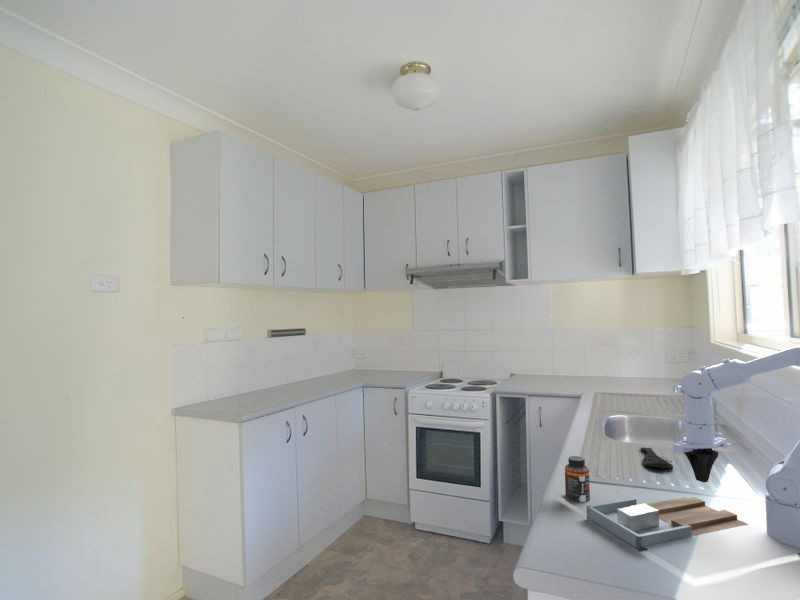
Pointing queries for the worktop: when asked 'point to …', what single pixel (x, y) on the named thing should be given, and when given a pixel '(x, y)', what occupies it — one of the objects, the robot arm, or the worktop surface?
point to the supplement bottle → (577, 480)
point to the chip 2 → (649, 515)
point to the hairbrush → (654, 459)
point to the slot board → (695, 515)
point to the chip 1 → (631, 518)
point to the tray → (627, 535)
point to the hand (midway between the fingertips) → (701, 480)
